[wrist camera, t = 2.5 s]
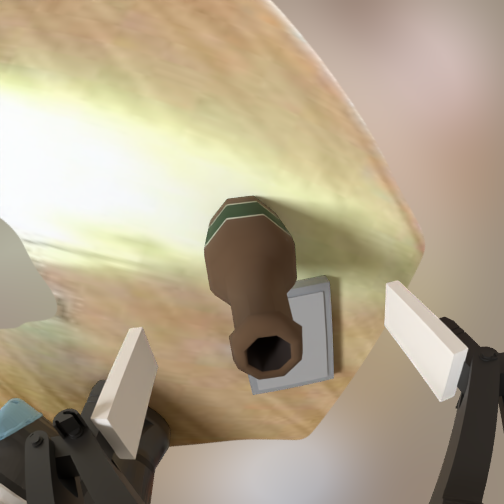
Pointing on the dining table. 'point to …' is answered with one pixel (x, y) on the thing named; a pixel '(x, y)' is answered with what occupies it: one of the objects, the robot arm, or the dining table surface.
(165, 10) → the dining table surface
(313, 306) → the slate stand
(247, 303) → the beer bottle
